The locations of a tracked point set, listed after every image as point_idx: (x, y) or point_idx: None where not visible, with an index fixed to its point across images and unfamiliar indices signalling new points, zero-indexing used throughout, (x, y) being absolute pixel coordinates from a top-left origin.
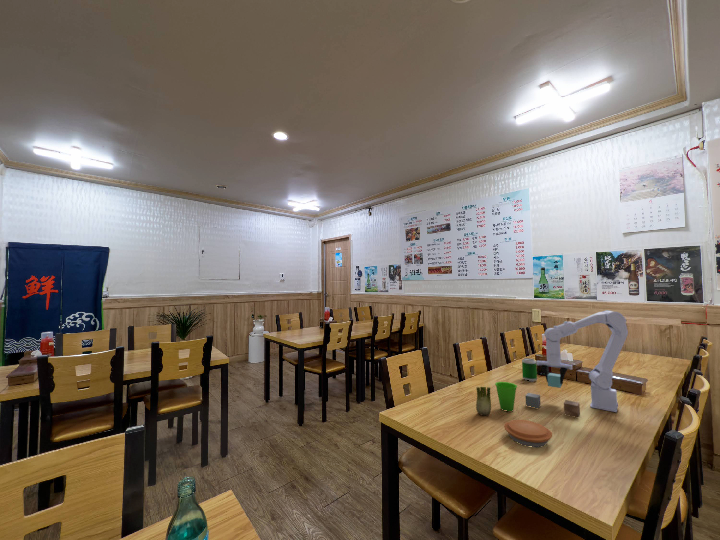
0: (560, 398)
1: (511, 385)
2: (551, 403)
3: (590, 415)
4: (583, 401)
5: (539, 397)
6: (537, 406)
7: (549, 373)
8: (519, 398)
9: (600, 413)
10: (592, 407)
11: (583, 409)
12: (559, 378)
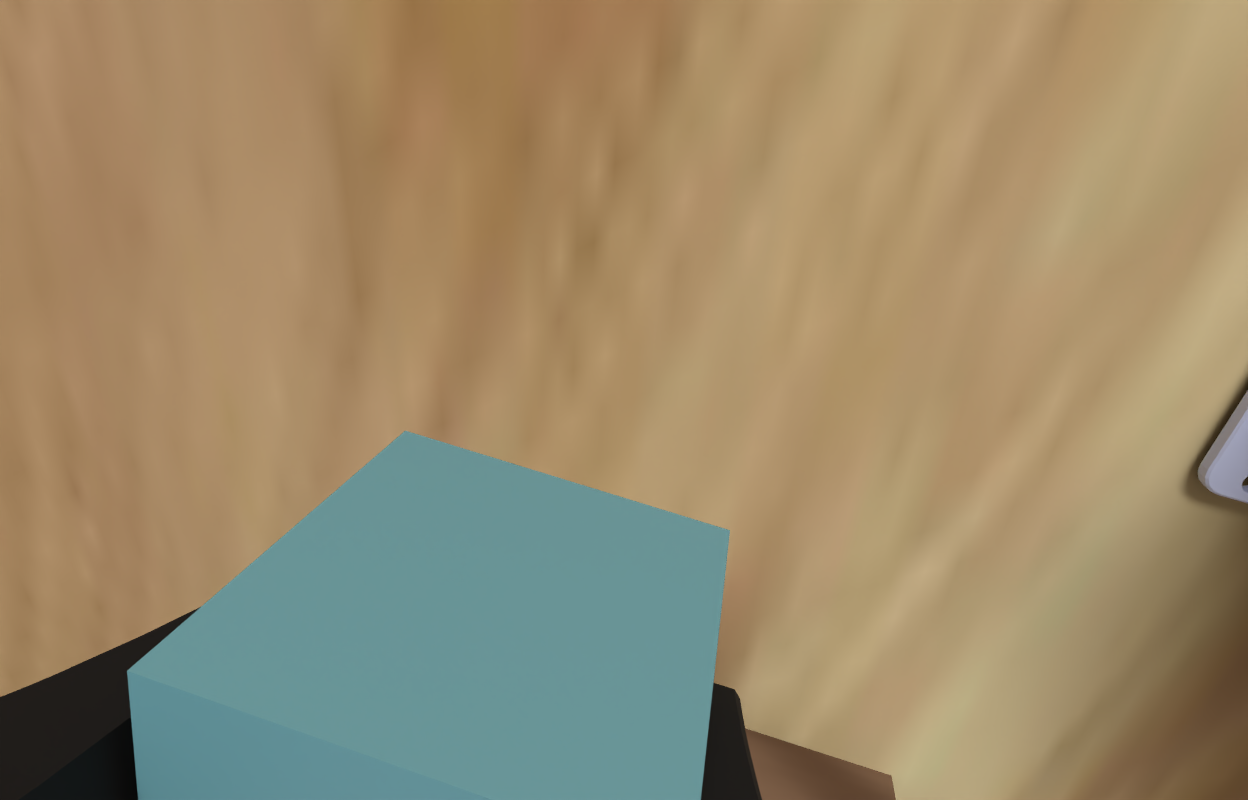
0: (735, 119)
1: None
2: None
3: (1028, 787)
4: (1219, 115)
5: None
6: None
7: (151, 761)
8: (135, 424)
9: (1240, 690)
10: (1231, 496)
11: (1014, 597)
12: None
